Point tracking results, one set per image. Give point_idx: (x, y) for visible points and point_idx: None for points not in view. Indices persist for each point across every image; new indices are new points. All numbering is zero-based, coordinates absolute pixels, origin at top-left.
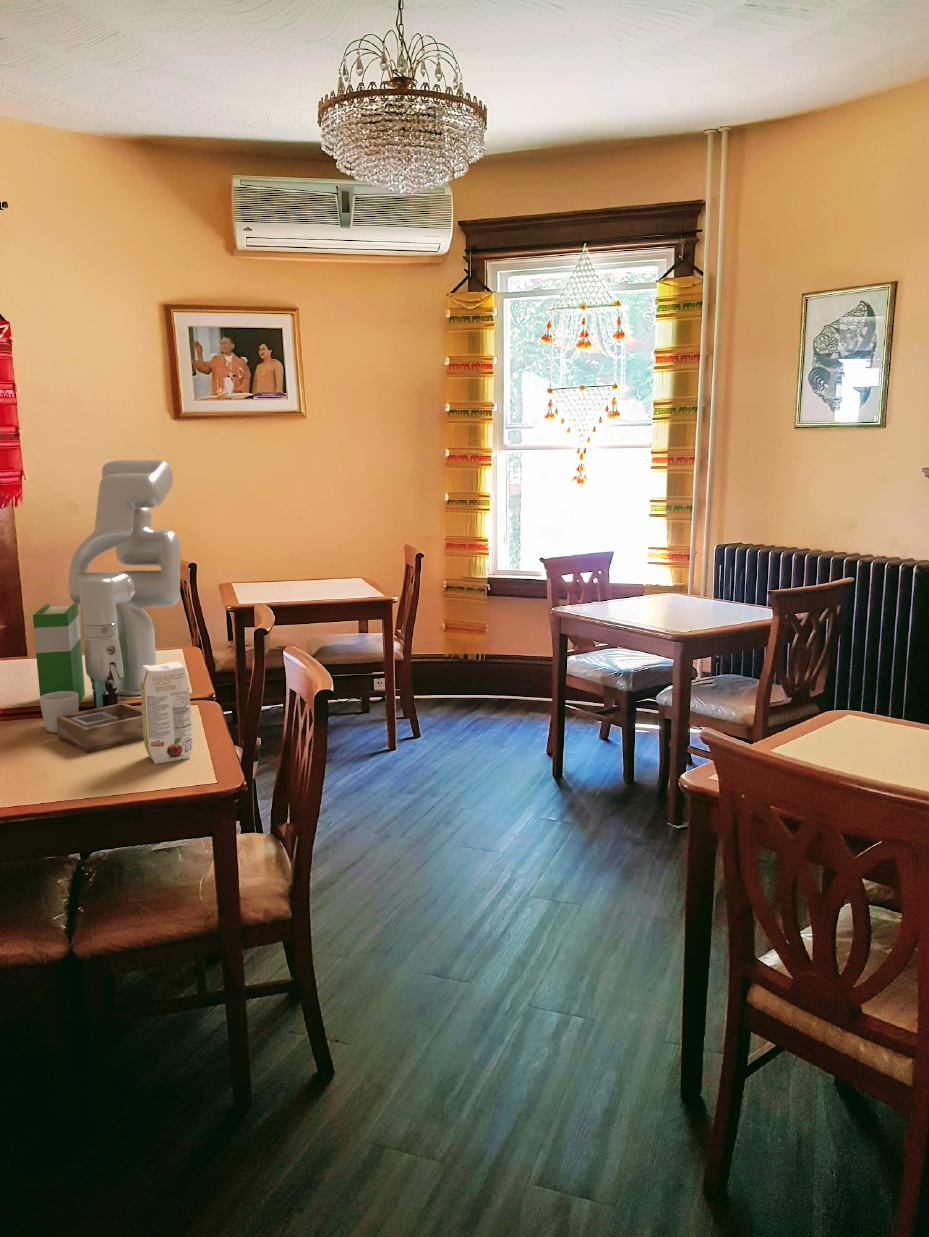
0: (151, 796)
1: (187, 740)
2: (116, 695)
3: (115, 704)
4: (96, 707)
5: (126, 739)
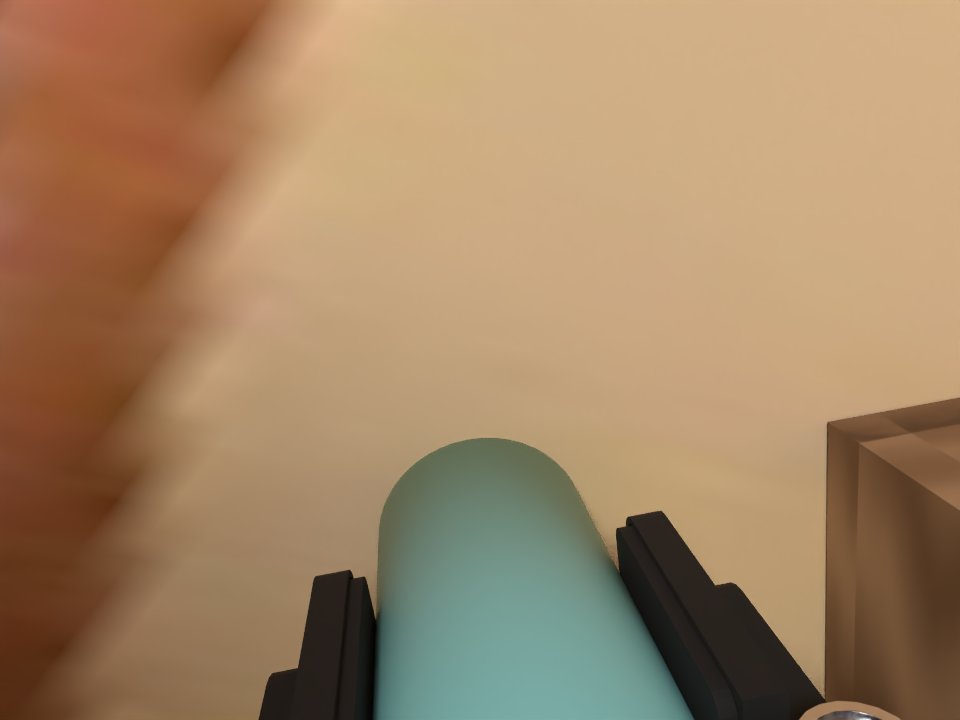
0: None
1: None
2: (759, 652)
3: (739, 591)
4: None
5: None
